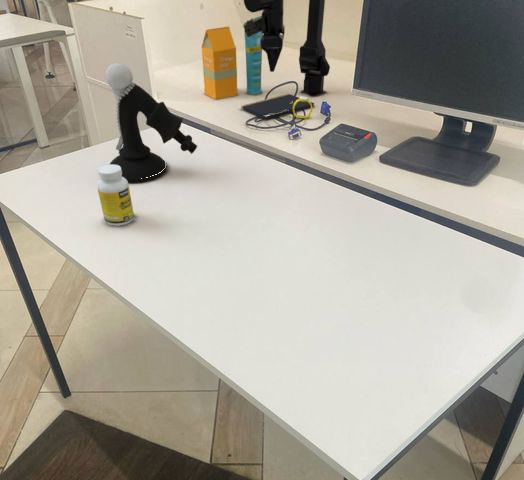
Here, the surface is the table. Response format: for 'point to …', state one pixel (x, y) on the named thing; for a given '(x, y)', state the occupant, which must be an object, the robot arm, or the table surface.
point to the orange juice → (219, 63)
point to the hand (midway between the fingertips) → (272, 67)
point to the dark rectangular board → (275, 106)
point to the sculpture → (158, 117)
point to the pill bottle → (114, 195)
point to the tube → (253, 62)
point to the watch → (302, 101)
